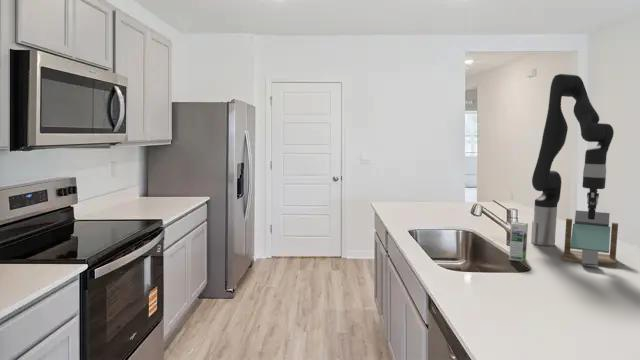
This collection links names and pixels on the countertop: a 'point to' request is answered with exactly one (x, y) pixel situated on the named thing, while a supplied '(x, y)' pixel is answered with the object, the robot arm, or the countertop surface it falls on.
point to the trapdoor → (591, 232)
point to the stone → (590, 257)
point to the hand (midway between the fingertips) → (591, 217)
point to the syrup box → (518, 241)
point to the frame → (602, 258)
